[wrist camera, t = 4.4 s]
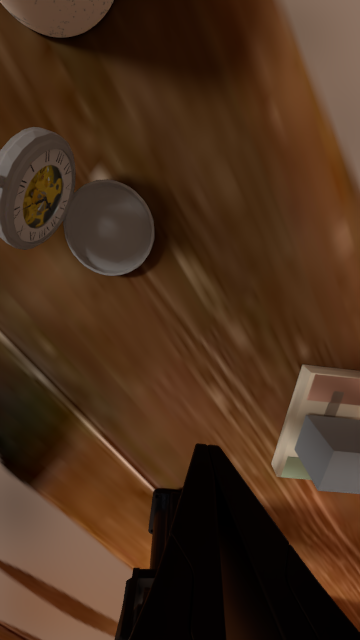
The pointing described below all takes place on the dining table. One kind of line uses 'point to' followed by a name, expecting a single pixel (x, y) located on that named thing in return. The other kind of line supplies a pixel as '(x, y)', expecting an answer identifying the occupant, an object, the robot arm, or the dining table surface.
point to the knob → (331, 452)
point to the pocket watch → (70, 206)
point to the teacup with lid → (58, 15)
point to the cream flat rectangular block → (315, 410)
